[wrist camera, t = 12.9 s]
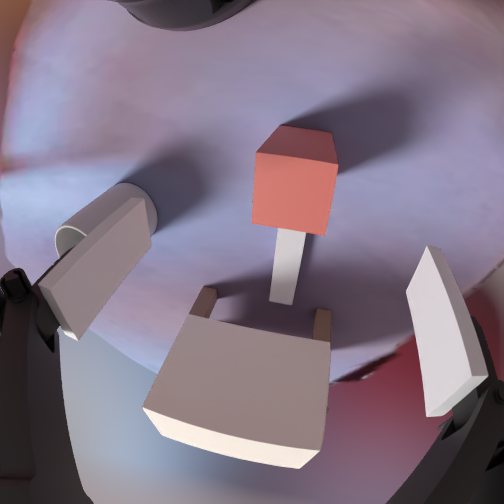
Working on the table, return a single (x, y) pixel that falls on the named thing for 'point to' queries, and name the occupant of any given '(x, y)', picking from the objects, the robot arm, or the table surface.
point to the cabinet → (244, 388)
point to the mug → (101, 215)
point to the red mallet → (293, 197)
